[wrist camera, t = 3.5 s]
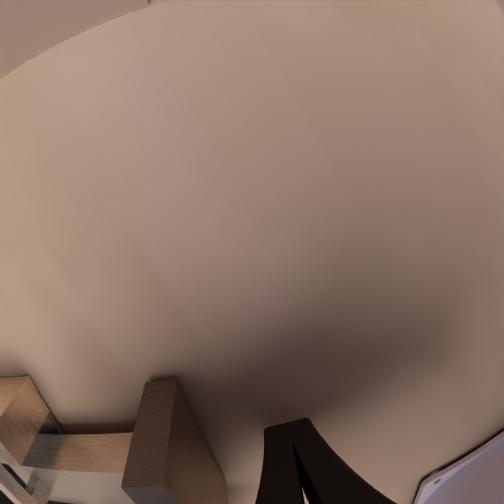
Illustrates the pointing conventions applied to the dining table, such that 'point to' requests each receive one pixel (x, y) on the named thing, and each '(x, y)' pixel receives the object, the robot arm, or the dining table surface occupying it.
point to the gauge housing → (22, 424)
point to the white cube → (50, 24)
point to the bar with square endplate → (124, 460)
